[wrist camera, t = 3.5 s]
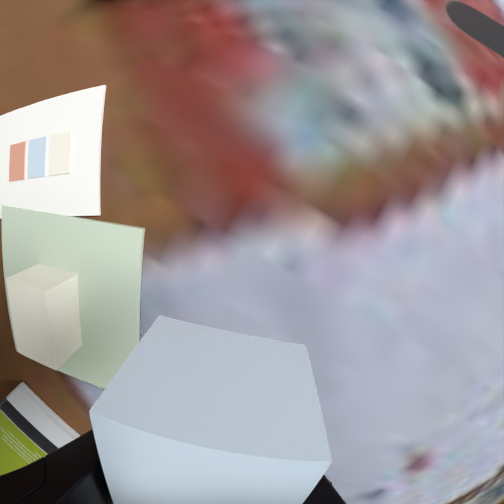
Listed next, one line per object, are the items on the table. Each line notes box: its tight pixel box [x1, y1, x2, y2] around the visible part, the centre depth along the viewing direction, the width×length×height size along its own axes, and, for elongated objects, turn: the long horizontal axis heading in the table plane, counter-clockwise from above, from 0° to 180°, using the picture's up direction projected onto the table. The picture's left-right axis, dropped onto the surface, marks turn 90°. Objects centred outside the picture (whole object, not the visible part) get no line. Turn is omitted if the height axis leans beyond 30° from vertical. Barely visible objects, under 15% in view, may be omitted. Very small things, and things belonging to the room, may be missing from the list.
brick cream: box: [6, 263, 82, 370], centre depth 18 cm, size 6×4×4 cm, turn 170°
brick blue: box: [89, 315, 332, 504], centre depth 6 cm, size 6×4×4 cm, turn 169°
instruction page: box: [0, 85, 106, 219], centre depth 17 cm, size 9×12×1 cm
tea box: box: [0, 382, 80, 475], centre depth 17 cm, size 15×10×15 cm, turn 134°
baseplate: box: [2, 205, 145, 389], centre depth 20 cm, size 14×14×1 cm
